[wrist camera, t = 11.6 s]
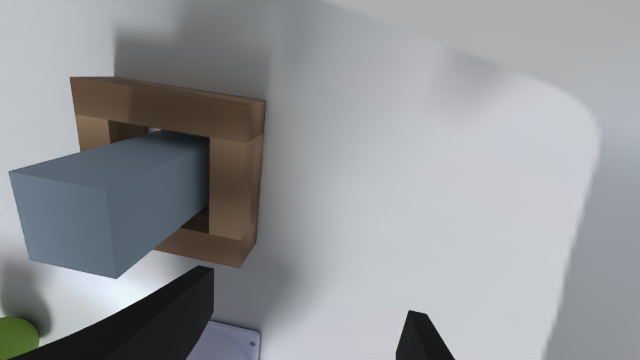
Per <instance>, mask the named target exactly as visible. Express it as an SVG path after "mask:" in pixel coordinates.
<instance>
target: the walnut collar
mask: <svg viewBox="0 0 640 360" xmlns="http://www.w3.org/2000/svg"><path fill="white" fill-rule="evenodd" d="M70 84H71V90H72V97H73V104H74V111H75V117H76V124H77V131H78V138H79V144H80V151H81V152H82V151H86V150H90V149H94V148H97V147H101V146H105V145H108V144H112V143H116V142H119V141H123V140H127V139H131V138H134V137H138V136H142V135H145V134H146V127H152V128H158V129H164V130H170V131H175V132H181V133H187V134H193V135H199V136H205V137H210V180H209V209H208V208H203V209H202V210H200V211H199V212H198V213H197V214H195V215H194V216H193V217H192V218H191V219H189V220H188V221H187V222H186V223H184V224H183V225H182V226H181V227H180V228H178V229H177V230H176V231H175V232H173V233H172V234H171V235H170V236H169V237H167V238H166V239H165V240H164V241H162V242H161V243H160V244H159V245H158V246H156V247H155V248H154V249H153V250H157V251H162V252H166V253H171V254H176V255H181V256H185V257H190V258H195V259H200V260H204V261H209V262H214V263H218V264H223V265H228V266H233V267H237V268H240V266H241V264H242V263H243V261H244V260H245V258H246V257H247V255H248V254H249V252H250V251H251V249H252V248H253V246H254V245H255V243H256V233H257V219H258V205H259V190H260V176H261V162H262V148H263V133H264V119H265V105H266V101H265V100H259V99H252V98H246V97H240V96H233V95H227V94H220V93H214V92H208V91H201V90H195V89H189V88H182V87H176V86H170V85H163V84H157V83H150V82H144V81H138V80H131V79H125V78H119V77H70Z"/></svg>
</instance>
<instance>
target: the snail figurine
mask: <svg viewBox="0 0 640 360" xmlns="http://www.w3.org/2000/svg"><path fill="white" fill-rule="evenodd" d="M38 346H39V334H38V331H37V329H36V328H35V327H34V325H33V324H31V323H30V322H28V321H27V320H24V319H21V318H17V317H2V318H0V360H7V359H10V358H13V357H15V356H18V355H21V354H24V353H26V352H29V351H31V350H34V349H36V348H38Z"/></svg>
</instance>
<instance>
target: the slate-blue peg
mask: <svg viewBox="0 0 640 360" xmlns="http://www.w3.org/2000/svg"><path fill="white" fill-rule="evenodd" d="M8 172H9V176H10V180H11V185H12V189H13V193H14V197H15V201H16V205H17V209H18V213H19V218H20V222H21V226H22V230H23V234H24V238H25V242H26V246H27V251H28V255H29V259H30V260H32V261H37V262H41V263H46V264H50V265H55V266H59V267H64V268H68V269H73V270H77V271H82V272H86V273H91V274H95V275H100V276H104V277H109V278H113V279H117V278H118V277H120V276H121V275H122V274H123V273H124V272H126V271H127V270H128V269H129V268H131V267H132V266H133V265H134V264H136V263H137V262H138V261H139V260H140V259H142V258H143V257H144V256H145V255H147V254H148V253H149V252H150V251H151V250H153V249H154V248H155V247H156V246H158V245H159V244H160V243H161V242H162V241H164V240H165V239H166V238H167V237H169V236H170V235H171V234H172V233H173V232H175V231H176V230H177V229H178V228H180V227H181V226H182V225H183V224H184V223H186V222H187V221H188V220H189V219H191V218H192V217H193V216H194V215H195V214H197V213H198V212H199V211H200V210H202V209H203V208H204V207H205V206H207V205H208V204H209V180H210V139H209V138H203V137H197V136H191V135H185V134H179V133H173V132H167V131H162V130H160V131H157V132H153V133H149V134H145V135H142V136H138V137H134V138H131V139H127V140H123V141H119V142H116V143H112V144H108V145H105V146H101V147H97V148H94V149H90V150H86V151H82V152H79V153H75V154H71V155H68V156H64V157H60V158H56V159H53V160H49V161H45V162H42V163H38V164H34V165H30V166H27V167H23V168H19V169H16V170H12V171H8Z"/></svg>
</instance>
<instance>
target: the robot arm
mask: <svg viewBox="0 0 640 360" xmlns="http://www.w3.org/2000/svg"><path fill="white" fill-rule="evenodd" d="M213 308H214V268H209V267H204V266H200V265H198V266H197V267H195V268H193V269H191V270H190V271H188V272H186V273H185V274H183V275H181V276H180V277H178V278H177V279H175V280H173V281H172V282H170V283H168V284H167V285H165V286H163V287H162V288H160V289H158V290H157V291H155V292H153V293H151V294H150V295H148V296H146V297H145V298H143V299H141V300H139V301H137V302H135V303H134V304H132V305H130V306H128V307H126V308H124V309H122V310H121V311H119V312H117V313H115V314H113V315H111V316H109V317H107V318H105V319H103V320H101V321H99V322H97V323H95V324H93V325H91V326H88V327H86V328H84V329H82V330H80V331H78V332H75V333H73V334H71V335H68V336H66V337H64V338H61V339H59V340H56V341H54V342H51V343H49V344H46V345H44V346H41V347H39V348H36V349H34V350H31V351H29V352H26V353H24V354H21V355H18V356H15V357H13V358H10V359H7V360H258V358H259V347H260V334H259V333H258V332H256V331H252V330H248V329H244V328H239V327H235V326H231V325H226V324H222V323H217V322H213V321H209V320H210V317H211V315H212V313H213ZM396 360H455V359H454V357H453V356H452V354H451V353H450V351H449V349H448V348H447V346H446V345H445V343H444V341H443V340H442V338H441V337H440V335H439V333H438V332H437V330H436V328H435V327H434V325H433V323H432V322H431V320H430V319H429V317H428V315H427V314H425V313H420V312H415V311H411V310H409V311H408V314H407V318H406V321H405V324H404V328H403V331H402V334H401V337H400V341H399V344H398V347H397V351H396Z"/></svg>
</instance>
